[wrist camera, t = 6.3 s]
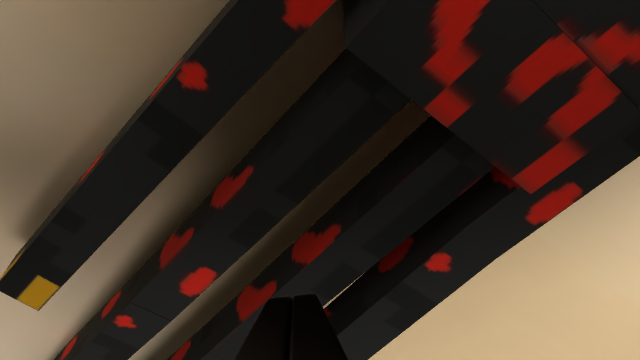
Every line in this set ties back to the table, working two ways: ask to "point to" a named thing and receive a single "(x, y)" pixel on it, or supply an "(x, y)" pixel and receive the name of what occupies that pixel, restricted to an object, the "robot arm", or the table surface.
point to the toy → (338, 145)
